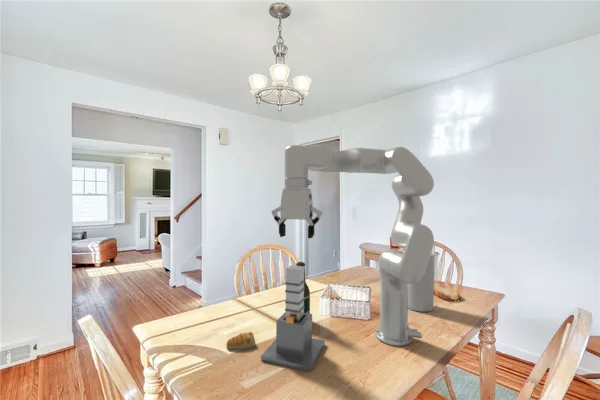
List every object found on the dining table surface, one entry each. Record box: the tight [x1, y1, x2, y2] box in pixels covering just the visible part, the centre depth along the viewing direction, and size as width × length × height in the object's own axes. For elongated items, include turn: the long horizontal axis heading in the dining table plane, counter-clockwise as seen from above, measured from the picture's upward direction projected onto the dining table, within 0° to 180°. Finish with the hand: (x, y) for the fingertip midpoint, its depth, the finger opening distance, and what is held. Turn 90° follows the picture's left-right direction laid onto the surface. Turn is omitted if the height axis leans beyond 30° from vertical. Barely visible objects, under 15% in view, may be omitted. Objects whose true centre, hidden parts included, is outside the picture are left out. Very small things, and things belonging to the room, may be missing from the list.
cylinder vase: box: [407, 252, 435, 313], centre depth 131 cm, size 12×12×25 cm
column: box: [284, 264, 306, 322], centre depth 92 cm, size 5×5×18 cm
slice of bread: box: [434, 285, 461, 302], centre depth 148 cm, size 18×18×4 cm
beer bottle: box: [295, 261, 311, 314], centre depth 115 cm, size 8×8×24 cm
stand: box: [260, 311, 326, 373], centre depth 92 cm, size 16×16×13 cm
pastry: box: [225, 331, 256, 350], centre depth 97 cm, size 9×7×4 cm
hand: (296, 237), depth 92 cm, fingers open, 9 cm apart
